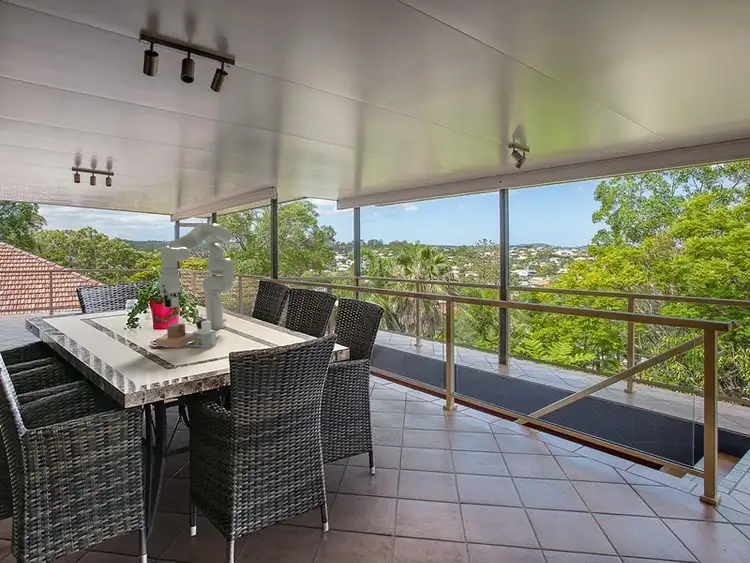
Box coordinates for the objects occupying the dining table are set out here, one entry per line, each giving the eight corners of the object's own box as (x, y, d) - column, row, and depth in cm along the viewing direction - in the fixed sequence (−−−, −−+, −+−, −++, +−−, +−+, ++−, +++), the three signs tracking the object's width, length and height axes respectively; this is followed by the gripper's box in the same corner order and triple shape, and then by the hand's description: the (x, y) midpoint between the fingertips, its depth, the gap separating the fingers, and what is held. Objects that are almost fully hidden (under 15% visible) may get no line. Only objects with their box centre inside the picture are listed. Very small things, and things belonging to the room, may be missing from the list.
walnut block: (175, 334, 232) (174, 323, 231) (185, 335, 231) (184, 324, 230) (167, 337, 226) (167, 326, 225) (177, 337, 225) (177, 326, 224)
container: (193, 346, 222) (192, 321, 221) (205, 343, 229) (204, 318, 228) (204, 348, 219) (202, 322, 217) (216, 344, 226) (215, 320, 224)
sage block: (171, 306, 232) (170, 296, 231) (179, 306, 231) (178, 296, 230) (164, 307, 227) (163, 297, 227) (172, 307, 226) (171, 298, 225)
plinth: (174, 340, 237) (174, 332, 237) (197, 341, 234) (196, 333, 233) (156, 346, 223) (155, 338, 223) (179, 347, 220) (179, 340, 220)
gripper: (175, 270, 236) (176, 303, 238) (151, 272, 220) (153, 308, 222) (186, 270, 234) (188, 304, 236) (164, 272, 218) (166, 309, 220)
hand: (171, 305), depth 229 cm, fingers closed on sage block, 5 cm apart
